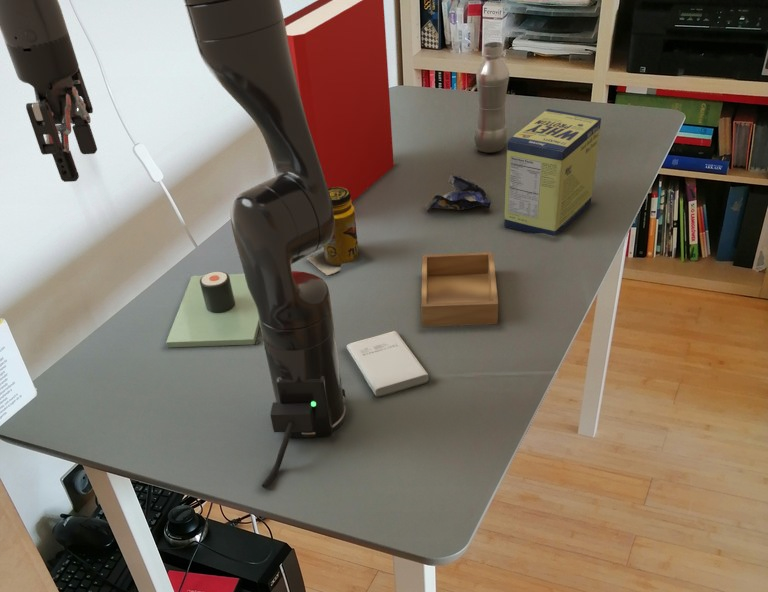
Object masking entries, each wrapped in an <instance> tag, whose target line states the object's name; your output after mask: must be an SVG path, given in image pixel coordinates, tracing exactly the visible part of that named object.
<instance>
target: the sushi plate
mask: <svg viewBox="0 0 768 592" xmlns="http://www.w3.org/2000/svg"><path fill="white" fill-rule="evenodd" d="M227 274H228V275H229V278H230V282H231V286H232V291H233V295H234V299H235V306H234V307H233V308H232V309H231V310H229V311H226V312H223V313H212V312H209V311H208V310H207V309H206V305H205V301H204V297H203V293H202V289H201V286H200V279H201V278H202V277H203V276H204V275H205V274H203V275H201V274H200V275H191V277H190V280H189V282H188V285H187V286H186V287H187V288H186V289H185V293H184V295H183V298H182V300H181V302H180V305H179V308H178V310H177V313H176V315H175V318H174V321H173V322H172V326H171V328H170V331H169V333H168V336H167V339H166V341H165V344H166V347H167V348H190V347H193V348H194V347H219V346H220V347H221V346H247V345H249V346H251V345H255V344H256V341H257V337H258V332H259V330H260V322H259V317H258V313H257V308H256V305H255V303H254V301H253V299H252V296H251V294H250V292H249V289H248V286H247V283H246V279H245V275H244V273H232V274H231V273H227Z"/></svg>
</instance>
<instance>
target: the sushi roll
mask: <svg viewBox="0 0 768 592" xmlns="http://www.w3.org/2000/svg"><path fill="white" fill-rule="evenodd" d="M228 274H229V273H226V272H224V271H212V272H209V273H208V272H207V273H206V274H203V275H204V276H203V277H202V278H201V279H200V286H201V289H202V293H203V297H204V301H205V305H206V309H207V310H208V311H209V312H212V313H223V312H226V311H229V310H231V309H232V308H233V307H234V306H235V299H234V295H233V291H232V286H231V282H230V278H229V275H228Z"/></svg>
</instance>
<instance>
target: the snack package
mask: <svg viewBox="0 0 768 592" xmlns="http://www.w3.org/2000/svg"><path fill="white" fill-rule="evenodd" d="M448 185H450V186H451V187H452V188H454V190H452V191H450V192H447V193H446V194H444V195H439V194H436V195H434V196H433V197H432V198H431V200H430V201H429V202H428V203H427V204H426V205H424V208H425V209H426V211H427V212H429V210H431V209H443V210H444V209H445V210H446V209H447V210H456V211H458V210H459V211H461V210H462V211H463V210H467V209H471V208H476V207H479V206H480V207H484V208H488V209H489V208H490V206H491V204H492V202H491V199H489V197H488V196H487V193H486V192H485V190H484V189H483V188H482V187H479V185H478V184H475V182H473V181H471V180H470V179H469V178H467V177H461V175H455V174H454V173H452V174H451V175H449V177H448ZM486 212H487V213H488V210H486Z"/></svg>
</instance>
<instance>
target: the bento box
mask: <svg viewBox="0 0 768 592" xmlns="http://www.w3.org/2000/svg"><path fill="white" fill-rule="evenodd" d="M494 257H495V256H494V251H482V252H460V253H459V252H458V253H436V254H435V253H433V254H422V255H421V305H420V307H421V323H422V324H421V327H444V326H445V327H447V326H471V325H497V324H498V322H499V321H498V320H499V297H498V287H497V277H496V268H495V267H496V266H495V258H494Z"/></svg>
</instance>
